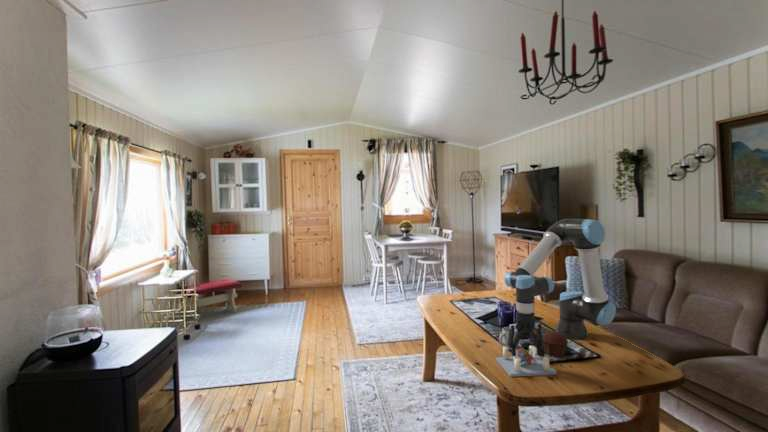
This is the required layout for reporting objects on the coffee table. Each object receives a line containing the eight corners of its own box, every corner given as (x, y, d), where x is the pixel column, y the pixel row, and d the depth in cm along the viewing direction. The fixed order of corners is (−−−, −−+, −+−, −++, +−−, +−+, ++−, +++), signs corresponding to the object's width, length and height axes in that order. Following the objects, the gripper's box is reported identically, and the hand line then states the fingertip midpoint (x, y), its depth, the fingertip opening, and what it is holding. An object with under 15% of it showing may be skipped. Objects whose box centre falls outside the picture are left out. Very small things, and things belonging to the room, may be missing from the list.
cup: (520, 348, 178) (520, 330, 178) (504, 352, 174) (504, 333, 174) (510, 343, 185) (510, 326, 184) (494, 346, 181) (494, 328, 181)
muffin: (554, 347, 179) (554, 327, 179) (573, 355, 169) (573, 334, 169) (535, 351, 175) (535, 330, 175) (554, 360, 165) (554, 338, 164)
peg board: (538, 357, 167) (538, 344, 167) (557, 374, 151) (557, 359, 151) (495, 359, 166) (495, 346, 166) (510, 376, 150) (510, 362, 150)
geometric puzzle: (540, 360, 156) (531, 342, 160) (530, 364, 152) (521, 346, 156) (529, 365, 161) (519, 347, 165) (519, 369, 157) (510, 351, 161)
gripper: (543, 307, 162) (543, 357, 163) (498, 309, 161) (498, 359, 162) (552, 312, 155) (552, 365, 156) (505, 314, 153) (505, 367, 154)
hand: (525, 362), depth 159 cm, fingers closed on geometric puzzle, 8 cm apart
